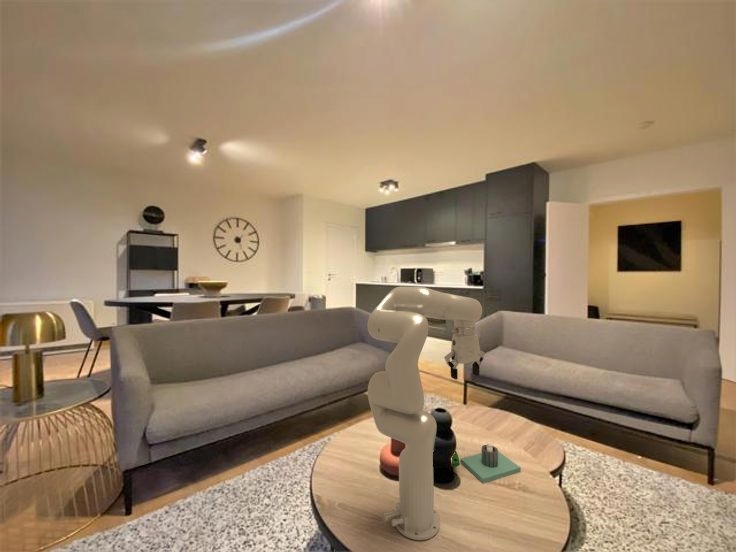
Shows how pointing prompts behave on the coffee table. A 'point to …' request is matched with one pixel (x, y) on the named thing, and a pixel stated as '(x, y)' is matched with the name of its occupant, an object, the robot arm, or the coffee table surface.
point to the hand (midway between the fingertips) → (465, 376)
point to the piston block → (489, 473)
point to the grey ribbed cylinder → (489, 457)
